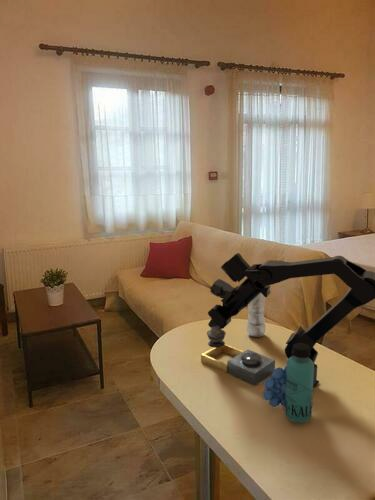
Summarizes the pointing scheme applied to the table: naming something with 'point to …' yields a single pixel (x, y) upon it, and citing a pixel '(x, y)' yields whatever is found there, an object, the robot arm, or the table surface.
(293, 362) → the beverage bottle
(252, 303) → the plastic bottle
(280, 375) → the grapes
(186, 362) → the table surface
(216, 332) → the dark grey tall piece
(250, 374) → the two-tone flat frame block
